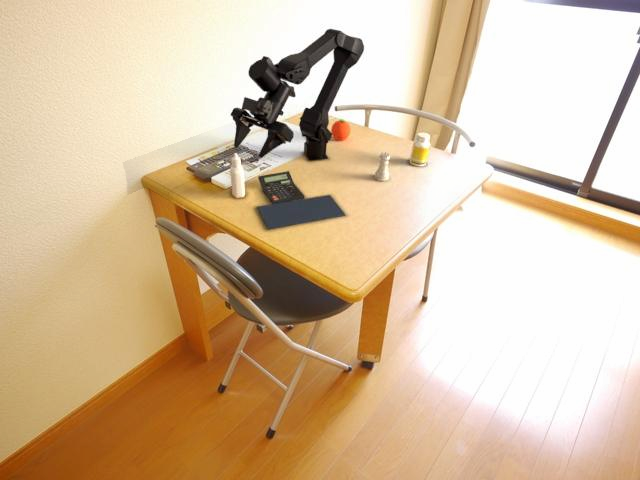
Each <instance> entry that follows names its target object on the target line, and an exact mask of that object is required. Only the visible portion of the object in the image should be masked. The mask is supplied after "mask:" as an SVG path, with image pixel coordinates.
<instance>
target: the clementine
mask: <svg viewBox="0 0 640 480" xmlns="http://www.w3.org/2000/svg"><path fill="white" fill-rule="evenodd" d="M330 132H331V133H332V137H333V138H334V139H335V140H337V141H344V140H346V139H348V138H349V136H350V135H351V126H350V124H349V122H347V121H346V120H345V119H339V120H336V121H335V122H333V124H332V125H331V129H330Z"/></svg>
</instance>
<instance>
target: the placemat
mask: <svg viewBox="0 0 640 480" xmlns="http://www.w3.org/2000/svg"><path fill="white" fill-rule="evenodd" d="M256 208H257V210H258V212H259V215H260V217H261V218H262V221H263V222H264V224H265V227H266V228H267V230H274V229H278V228H284V227H289V226H295V225H301V224H307V223H312V222H317V221H323V220H330V219H333V218H340V217H345V216H346V213H345V212H344V211H343V209H342V208H341V207H340V205H338V203H337V202H336V201H335V200H334V198H333V197H332V196H331V194H327V195H321V196H314V197H308V198H304V199H299V200H294V201H289V202H283V203H276V204H272V203H270V204H264V205H259V206H256Z"/></svg>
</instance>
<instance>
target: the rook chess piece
mask: <svg viewBox="0 0 640 480" xmlns="http://www.w3.org/2000/svg"><path fill="white" fill-rule="evenodd" d="M379 159H380V160H379V161H378V162H379V166H378V168H377V169H376V171H375V172H374V178H375V180H377V181H379V182H386V181H388V180H389V179H390V172H389V170H388V165H389V163H390V162H389V160H390V159H391V156H390V153H389V152H381V153H380V155H379Z"/></svg>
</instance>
